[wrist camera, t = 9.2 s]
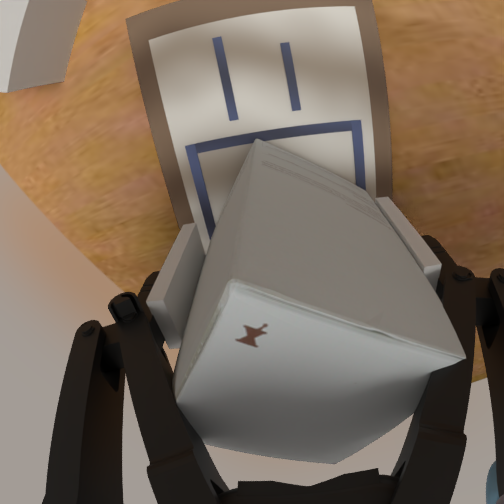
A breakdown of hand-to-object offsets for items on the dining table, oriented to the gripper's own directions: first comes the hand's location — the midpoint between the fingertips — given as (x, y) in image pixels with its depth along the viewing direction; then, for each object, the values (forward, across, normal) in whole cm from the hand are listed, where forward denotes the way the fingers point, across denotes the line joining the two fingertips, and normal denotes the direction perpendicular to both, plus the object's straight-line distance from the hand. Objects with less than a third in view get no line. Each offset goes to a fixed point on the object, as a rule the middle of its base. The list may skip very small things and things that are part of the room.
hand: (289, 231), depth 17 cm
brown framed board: (+4, 0, -2) cm, 4 cm away
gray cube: (+4, +14, -16) cm, 22 cm away
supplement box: (+2, 0, 0) cm, 2 cm away
